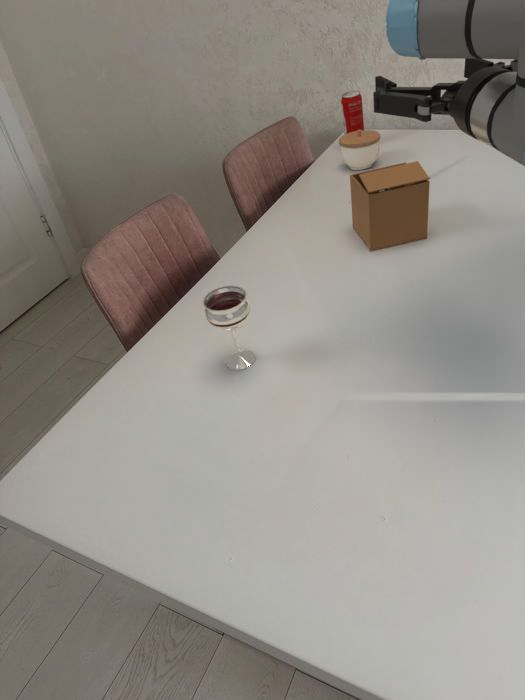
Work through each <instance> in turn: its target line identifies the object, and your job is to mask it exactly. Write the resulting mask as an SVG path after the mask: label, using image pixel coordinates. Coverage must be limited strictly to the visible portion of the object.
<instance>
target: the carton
mask: <svg viewBox="0 0 525 700" xmlns="http://www.w3.org/2000/svg"><path fill="white" fill-rule="evenodd" d="M407 163H408V162H401V163H396V164H392V165H387V166H383V167H379V168H378V167H377V168H373V169H370V170H365V171H361V172H357V173H352V174H350V175H349V183H350V185H349V186H350V198H351V199H350V200H351V201H350V202H351V219H352V220H351V221H352V228H353V230H354V231H355V232H356V234H357V235H358V236H359V238H360V239H361V240H362V242H363V243H364V245H365V246H366V247H367V249H368V250H369V251H370V252H373V251H378V250H381V249H386V248H390V247H394V246H400V245H404V244H407V243H412V242H417V241H420V240H426V239H427V238H428V229H429V227H428V225H429V206H430V205H429V204H430V203H429V202H430V184H431V183H430V181H429V179H428V180H423V181H419V182H415V183H410V184H406V185H402V186H397V187H395V189H392V190H387V191H383V192H379V191H375V192H371V193H368V191H367V189H366V187H365V185H364V184H363V182H362V180H361V178H360V176H359V174H363V173H367V172H372V171H376V170H380V169H385V168H389V167H394V166H398V165H402V164H407Z"/></svg>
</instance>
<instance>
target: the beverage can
mask: <svg viewBox="0 0 525 700" xmlns="http://www.w3.org/2000/svg"><path fill="white" fill-rule="evenodd" d="M340 103H341V114H342V115H341V116H342V124H343V133H344V134H343V135H345V134H347V133H350V132H354V131H357V130H365V123H364V121H365V120H364V110H363V109H364V108H363V97H362V94H361V92H360V90H349V91H346V92H344V93H342V95H341V100H340Z"/></svg>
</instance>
